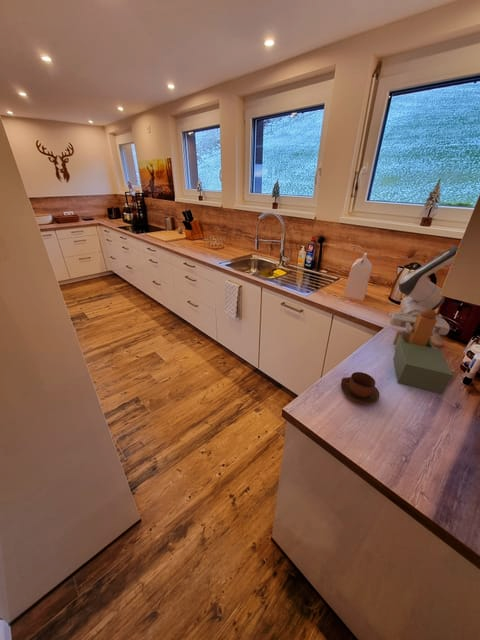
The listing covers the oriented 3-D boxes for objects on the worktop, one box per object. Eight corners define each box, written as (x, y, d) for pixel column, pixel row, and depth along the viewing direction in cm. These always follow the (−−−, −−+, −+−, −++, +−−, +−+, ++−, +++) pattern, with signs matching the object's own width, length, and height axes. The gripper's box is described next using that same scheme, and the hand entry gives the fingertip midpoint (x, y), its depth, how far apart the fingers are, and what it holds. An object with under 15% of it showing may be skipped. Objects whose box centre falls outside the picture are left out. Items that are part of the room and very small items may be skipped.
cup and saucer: (347, 406, 83) (351, 392, 80) (334, 380, 93) (338, 367, 90) (384, 407, 83) (390, 393, 80) (368, 381, 93) (372, 367, 91)
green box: (392, 358, 106) (399, 341, 102) (431, 367, 102) (440, 349, 98) (397, 383, 93) (406, 364, 89) (442, 394, 89) (453, 374, 85)
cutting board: (433, 329, 129) (434, 326, 128) (443, 348, 114) (445, 345, 114) (406, 323, 133) (407, 321, 132) (412, 341, 118) (413, 339, 117)
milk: (362, 300, 156) (375, 257, 144) (343, 296, 161) (353, 254, 149) (365, 294, 166) (377, 253, 153) (346, 290, 170) (356, 250, 158)
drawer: (391, 338, 118) (396, 325, 115) (422, 344, 114) (428, 331, 111) (396, 362, 103) (402, 347, 99) (432, 370, 99) (440, 355, 96)
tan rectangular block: (417, 351, 108) (436, 308, 98) (420, 358, 104) (440, 313, 94) (404, 348, 109) (421, 305, 100) (405, 355, 105) (424, 311, 96)
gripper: (390, 305, 114) (394, 319, 102) (445, 315, 107) (456, 331, 96) (386, 318, 117) (389, 333, 105) (439, 328, 110) (449, 345, 99)
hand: (421, 332), depth 101 cm, fingers closed on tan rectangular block, 5 cm apart
